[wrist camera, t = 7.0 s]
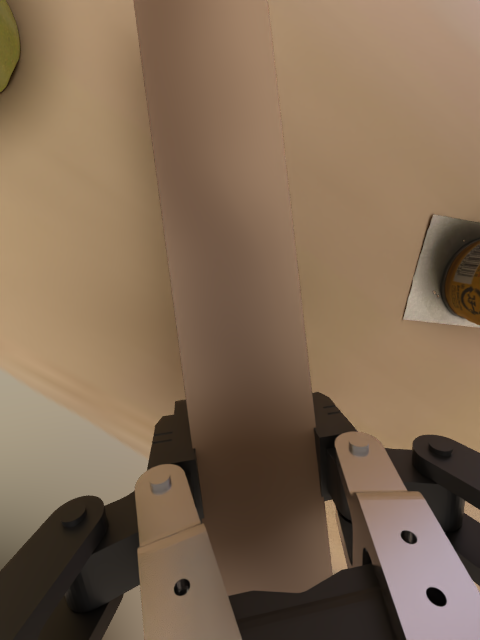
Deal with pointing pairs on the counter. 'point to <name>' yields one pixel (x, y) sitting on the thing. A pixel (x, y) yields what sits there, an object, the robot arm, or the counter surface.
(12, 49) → the plant pot
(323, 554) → the push bar
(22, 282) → the counter surface
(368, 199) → the counter surface
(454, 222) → the condiment
